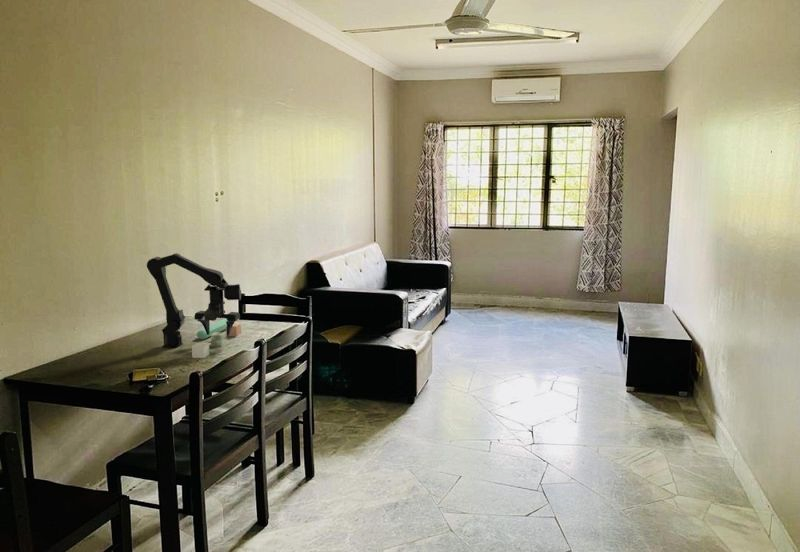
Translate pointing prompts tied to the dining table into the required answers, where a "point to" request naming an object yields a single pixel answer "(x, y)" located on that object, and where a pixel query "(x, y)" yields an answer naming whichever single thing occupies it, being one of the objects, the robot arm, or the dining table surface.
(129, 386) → the dining table surface
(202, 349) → the off white block
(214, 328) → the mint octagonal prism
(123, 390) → the dining table surface
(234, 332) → the terracotta block
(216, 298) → the robot arm
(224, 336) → the sage block
